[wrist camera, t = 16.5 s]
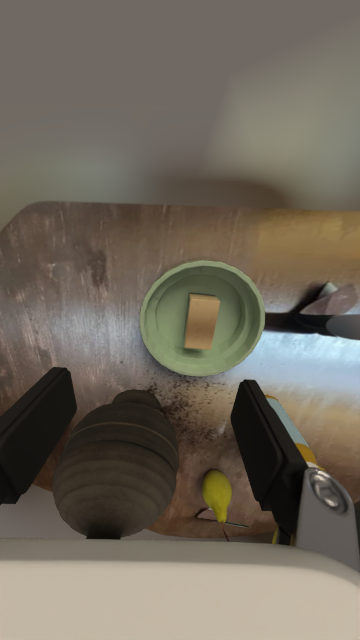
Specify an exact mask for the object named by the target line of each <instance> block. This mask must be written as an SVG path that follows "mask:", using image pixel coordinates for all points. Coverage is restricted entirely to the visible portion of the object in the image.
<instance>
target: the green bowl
mask: <svg viewBox="0 0 360 640" xmlns="http://www.w3.org/2000/svg"><path fill="white" fill-rule="evenodd" d="M189 292H192V293H202V294H212V295H215V296H216V297H217V298H218V300H219V301H220V306H219V311H218V316H217V321H216V326H215V331H214V337H213V342H212V347H211V350H207V349H195V348H185V347H184V330H185V321H186V313H187V305H188V297H189ZM264 324H265V308H264V304H263V301H262V297H261V294H260V292H259V291H258V289H257V288H256V286H255V285H254V283H253V281H252V280H251V279H250V278H248V277H247V276H246V275H245V274H244V273H242V272H241V271H240V270H239V269H237V268H234V267H232V266H229V265H227V264H224V263H222V262H218V261H215V260H206V259H195V260H190V261H184V262H182V263H179V264H177V265H175V266H173V267H171V268H170V269H168V270H167V271H166V272H165V273H163V274H162V275H161V276H160V277H159V278H158V279H157V280H156V281H155V283H154V284H153V286H152V287H151V289H150V290H149V292H148V293H147V295H146V296H145V298H144V301H143V304H142V308H141V311H140V331H141V335H142V339H143V342H144V344H145V346H146V347H147V349H148V351H149V352H150V354H151V355H152V356H153V357H154V358H155V359H156V360H157V361H158V362H159V363H160V364H161V365H163V366H165V367H166V368H168V369H170V370H172V371H174V372H177V373H180V374H183V375H187V376H199V377H202V376H210V375H216V374H219V373H222V372H224V371H227V370H230V369H231V368H233V367H235V366H236V365H238V364H239V363H241V362H242V361H243V360H244V359H245V358H246V357H247V356H248V355H249V354H250V353H251V352H252V351H253V350H254V348H255V346H256V345H257V343H258V342H259V340H260V338H261V335H262V331H263V328H264Z"/></svg>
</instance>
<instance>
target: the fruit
mask: <svg viewBox="0 0 360 640" xmlns="http://www.w3.org/2000/svg"><path fill="white" fill-rule="evenodd" d="M202 495H203V498H204V501H205V502H206V504H207V505H208V506H209V507H210V508H211V509H212V510H213V511H214V513H215V517H216V519H217V521H218V522H219V523H221V525H222V528H223V523H224V522H225V520H226V517H227V507H228V505H229V503H230V500H231V497H232V489H231V485H230V483H229V481H228V479H227V477H226V476H225V475H224V474H223V473H222V472H219V471H218V470H211V471H209V472H208V473H207V474H206V476H205V478H204V480H203V484H202ZM223 531H224V528H223ZM224 534H225V536H226V539H227V540H228V542H229V539H228V538H227V535H226V533H225V531H224Z"/></svg>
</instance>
